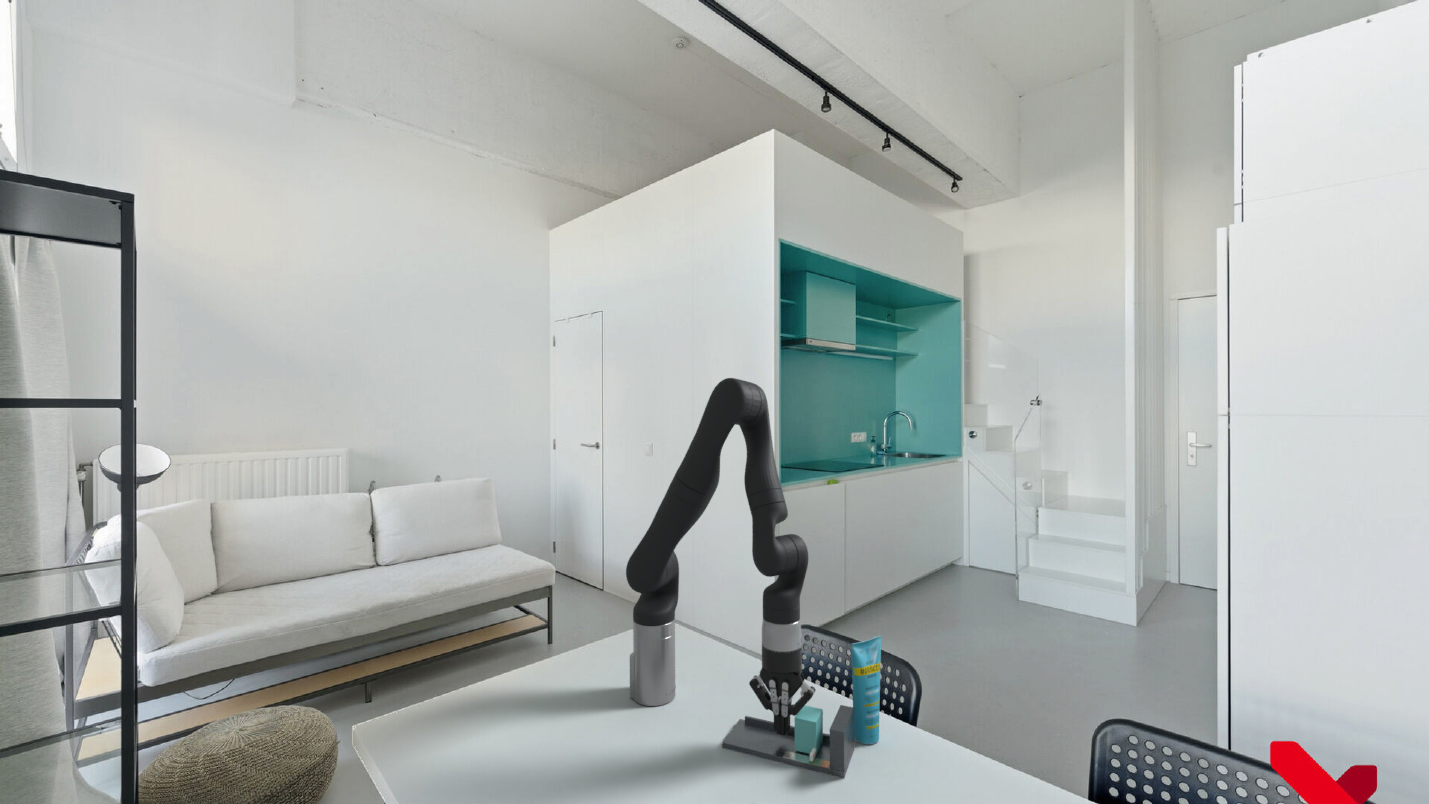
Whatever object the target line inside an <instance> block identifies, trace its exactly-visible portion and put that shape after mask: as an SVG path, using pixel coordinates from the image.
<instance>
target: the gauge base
mask: <svg viewBox="0 0 1429 804" xmlns="http://www.w3.org/2000/svg"><path fill="white" fill-rule="evenodd" d="M721 746H722V749H727V750H729V749H730V751H734V752H738V753H741V752H742V754H747V755H749V754H750V755H749V756H753V757H758V758H762V759H766V760H770V761H774V762H778V763H782V764H785V765H789V766H794V767H797V768H801V769H805V770H809V771H813V772H818V773H822V774H825V775H829V776H833V777H838V778H841V779H846V778H845V777H846V774H847V771H848V769H849V766H850V763H851V760H852V759H853V758H852V757H853V756H854V755H853V754H854V752H855V738H854V708H853V706H848V705H841V704H840V705H839V707H838V710H837V713H836V714H835V717H834V719H833V721H832V723H831V725H830V727H829V733H824V732H823V742H822V744H821V746H820V748H819V750H818V753H817V755H816V756H815V758H814V760H813V761H810V754H808V753H804V752H800V751H796V750H795V725H794V726H793V725H790V729H789V731H788V733H786V734H785V736H783V735H779V734H777V731H776V730H775V729H774V721H771V720H766V719H763V718H758V717H753V716H748V715H745V716H744V719H741V718H739V719H738V721H737V722H736V723H735V724H734V726H733V727H732V728H731V730H730V731H729V733H728V734H727V735H726V737H725V738H724V739H723V741H722V744H721Z"/></svg>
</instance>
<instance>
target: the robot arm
mask: <svg viewBox="0 0 1429 804" xmlns="http://www.w3.org/2000/svg"><path fill="white" fill-rule="evenodd" d="M706 403H707V404H706V406H705V407H704V411H703V413H702V416H701V418H700V421H699V423H698V427H697V430H696V431H695V433H694V436H693V438H692V440H691V442H690V444H689V446H688V449H687V451H686V452H685V455H684V457H683V459H682V461H681V463H680V465H679V467H678V469H677V470H676V472H675V473H674V476H673V478H672V480H671V481H670V484H669V486H668V488H667V490H666V492H665V494H664V497H663V499H662V500H661V503H660V504H659V506H658V509H657V511H656V513H655V515H654V517H653V519H652V521H651V523H650V525H649V527H648V529H647V530H646V532H645V534H644V535H643V537H642V538H641V540H640V541H639V543H638V545H637V546H636V548H635V549H634V550H633V552H632V554H631V555H630V557H629V559H628V560H627V562H626V563H627V564H626V569H625V574H626V575H625V576H626V581H627V584H628V585H629V587H630V588H631V590H633V591H635V592H636V593H639V594H640V595H639V597H638V600H637V601H636V603H635V604H634V607H633V611H632V634H633V635H632V637H633V639H632V640H633V642H632V643H633V644H632V645H633V649H632V650H633V652H632V653H630V655H629V698H630V699H633V700H635V702H637V704H640V705H643V706H648V707H656V706H662V705H666V704H669V703H670V702H672V701H673V700H674V699H675V697H676V687H677V686H676V615H675V614H676V608H677V606H678V602H679V589H680V588H679V587H680V585H679V584H680V566H679V565H680V563H679V559H678V556H677V554H676V553H675V550H676V547H677V546H678V544H679V543H680V542H681V540H682V539H683V538H684V537H685V535H686V534H687V533H688V532H689V531H690V530H691V528H692V527H693V526H694V525H696V523H697V522H698V521H699V519H700V518H701V517H702V515H703V514H704V512H705V511H706V509H707V507H708V506H709V504H710V502H711V500H712V498H713V496H714V495H715V493H716V491H717V488H718V486H719V484H720V477H721V476H720V475H721V456H722V455H721V454H722V449H723V447H724V444H725V442H726V440H727V439H728V436H729V435H730V433H731V432H732V430H733V428H734V426H735V425H738V426H739V428H740V430H741V432H742V435H743V438H744V441H745V447H746V461H745V469H744V479H743V480H744V481H743V482H744V490H745V495H746V499H747V503H748V507H749V510H750V515H751V519H752V520H751V521H752V523H751V524H752V526H751V527H752V530H751V531H752V532H751V533H752V536H751V537H752V547H751V548H752V550H751V551H752V554H751V555H752V559H753V560H752V561H753V563H754V565H755V568H757V571H758V572H760V574H761V575H762V576H764V577H768V578H769V577H771V578H772V577H777V578H776V580H775V581H774V582H773V583H771V584H768V586H766V587H765V588H764V590H763V592H762V622H761V623H762V624H761V669H760V671H759V674H758V675H754V676H753V677H752V678H751V679H750V681H749V683H748V685H749V687H750V688H751V690H752V691H753V693H754V694H755V696H756V697H757V698H758V700H759V702H760V703H761V706H762V707H763V708H764V709H765V710H767V711H768V710H769V711H771V712H772V714H773V722H774V729H775V730H776V731H777V734H779V735H783V736H785V734H786V733H788V731H789V729H790V726H791V716H794V717H795V716H796V714H797V713H798V712H799V711H800V710H801V709H802V708H803V707H804V706H806V705H807V703H808V702H810V700H811V699H812V698H813V696H814V694H815V692H816V688H815V687H814V686H812V685H811V686H809V684H807V683H806V681H805V675H804V673H803V670H802V668H803V666H802V665H803V664H802V663H803V662H802V661H803V659H802V658H803V657H802V655H803V654H802V651H803V649H802V646H803V645H802V643H803V635H802V624H801V601H800V600H801V594H802V591H803V588H804V583H805V578H806V575H807V571H808V566H809V551H808V546H807V544H806V542H805V540H804V539H803V538H802V537H801V536H800V535H798V534H793V533H790V534H783V535H782V534H781V535H777V536H776V525H778V524H780V523H783V522H784V521H785V520H786V519H787V518H788V515H789V511H788V507H787V503H786V500H785V496H784V492H783V489H782V485H781V482H780V478H779V474H778V470H777V469H778V468H777V464H776V459H775V451H774V447H773V445H774V444H773V438H772V437H773V436H772V429H771V421H770V412H769V404H768V399H767V396H766V393H765V391H764V389H763V388H762V387H761V386H759V385H758V384H756V383H753V382H751V381H746V380H744V379H739V378H735V377H726V378H724V379H722V380H721V381H720V382H718V383H717V384H716V386H715V387H714V388H713V390H712V392H711V394H710V396H709V398H708V401H707V402H706ZM799 689H801V690H800V691H799ZM798 691H799V692H800V693H799V694H800V698H799V699H798V700H797V701H796V702H795V703H793V698H794V695H796V693H797V692H798ZM792 703H793V704H792Z"/></svg>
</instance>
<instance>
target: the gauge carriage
mask: <svg viewBox="0 0 1429 804" xmlns="http://www.w3.org/2000/svg"><path fill="white" fill-rule="evenodd" d="M823 711H824V709H823V708H819V707H815V706H809V705H805V706H804V707H803V708H802V709H801V710H800V711H799V712H798V713H797V714H796V715H795V716H794V727H795V750H796V751H800V752H804V753H808V754H810V761H813V760H814V758H815V756H816V755H817V753H818V750H819V748H820V746H821V744H822V742H823V733H824V731H823V730H824V727H823V726H824V725H823V724H824V722H823V721H824V720H823V719H824V717H823V713H824V712H823Z"/></svg>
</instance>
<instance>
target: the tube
mask: <svg viewBox="0 0 1429 804" xmlns="http://www.w3.org/2000/svg"><path fill="white" fill-rule="evenodd" d="M850 646H851V649H850V650H851V673H852V674H851V675H852V676H851V677H852V679H851V680H852V682H851V683H852V707H853V708H854V741H856V742H859V743H860V744H864V745H875V744H877V743H878V742H879V741H880V699H881V698H880V696H881V695H880V693H881V660H882V635H878V636H874V637H872V638H870V639H867V640H863V641H862V640H861V641H858V642H855V643H854V642H853V643H851V645H850Z"/></svg>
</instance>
